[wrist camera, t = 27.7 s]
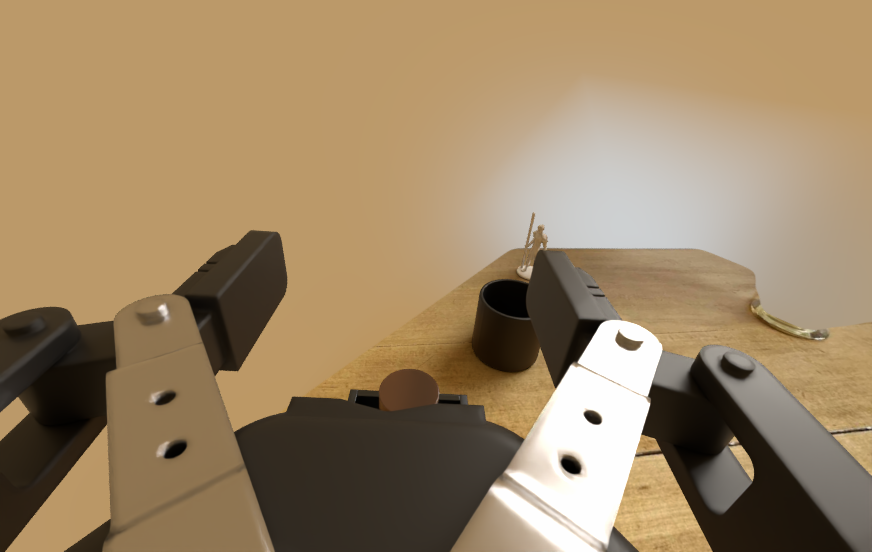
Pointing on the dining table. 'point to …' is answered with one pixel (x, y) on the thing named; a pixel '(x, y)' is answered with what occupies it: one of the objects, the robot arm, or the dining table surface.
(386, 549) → the robot arm
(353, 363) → the dining table surface
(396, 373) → the tall brown cylinder
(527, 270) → the figurine
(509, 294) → the mug
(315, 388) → the dining table surface
